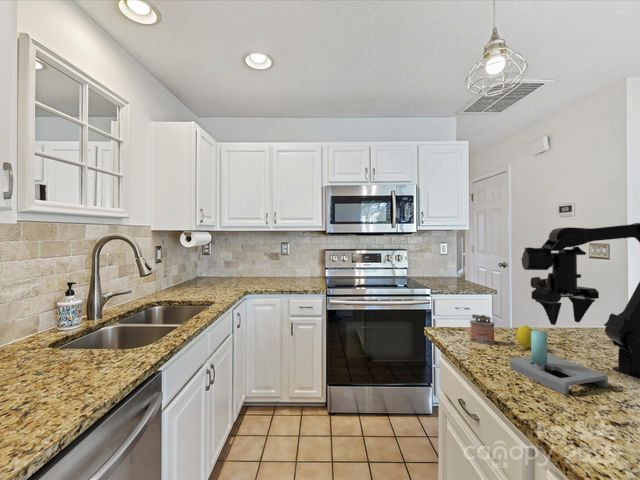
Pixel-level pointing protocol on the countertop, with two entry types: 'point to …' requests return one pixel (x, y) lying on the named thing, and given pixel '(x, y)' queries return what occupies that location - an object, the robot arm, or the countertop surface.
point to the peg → (539, 348)
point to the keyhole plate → (561, 365)
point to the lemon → (524, 336)
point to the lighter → (482, 330)
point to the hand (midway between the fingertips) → (565, 323)
